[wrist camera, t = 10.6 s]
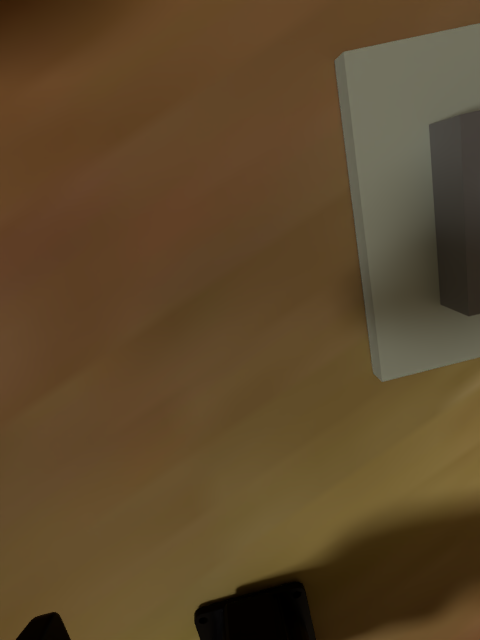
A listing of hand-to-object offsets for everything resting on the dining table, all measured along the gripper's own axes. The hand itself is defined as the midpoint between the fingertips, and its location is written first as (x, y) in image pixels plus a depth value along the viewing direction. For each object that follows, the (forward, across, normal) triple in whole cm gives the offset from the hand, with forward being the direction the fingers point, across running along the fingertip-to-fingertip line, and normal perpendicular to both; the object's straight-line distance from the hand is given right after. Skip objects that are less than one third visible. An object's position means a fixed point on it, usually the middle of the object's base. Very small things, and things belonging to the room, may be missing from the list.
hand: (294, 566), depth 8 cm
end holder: (+12, -14, -4) cm, 19 cm away
